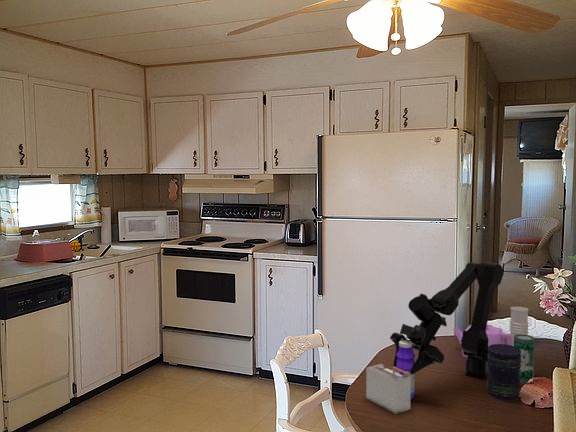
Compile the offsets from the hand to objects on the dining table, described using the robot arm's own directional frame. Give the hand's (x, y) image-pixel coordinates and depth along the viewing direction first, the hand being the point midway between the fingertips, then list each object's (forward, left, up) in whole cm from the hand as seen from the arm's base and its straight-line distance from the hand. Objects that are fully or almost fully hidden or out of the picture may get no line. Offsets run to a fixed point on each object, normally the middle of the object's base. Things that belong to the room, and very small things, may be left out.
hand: (402, 370), depth 168 cm
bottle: (0, -1, -9) cm, 9 cm away
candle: (-15, -75, -10) cm, 77 cm away
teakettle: (-7, -54, -10) cm, 55 cm away
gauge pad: (0, +3, -8) cm, 9 cm away
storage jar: (-24, -22, -10) cm, 34 cm away
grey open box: (+2, +6, -9) cm, 11 cm away
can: (-26, -38, -10) cm, 47 cm away
